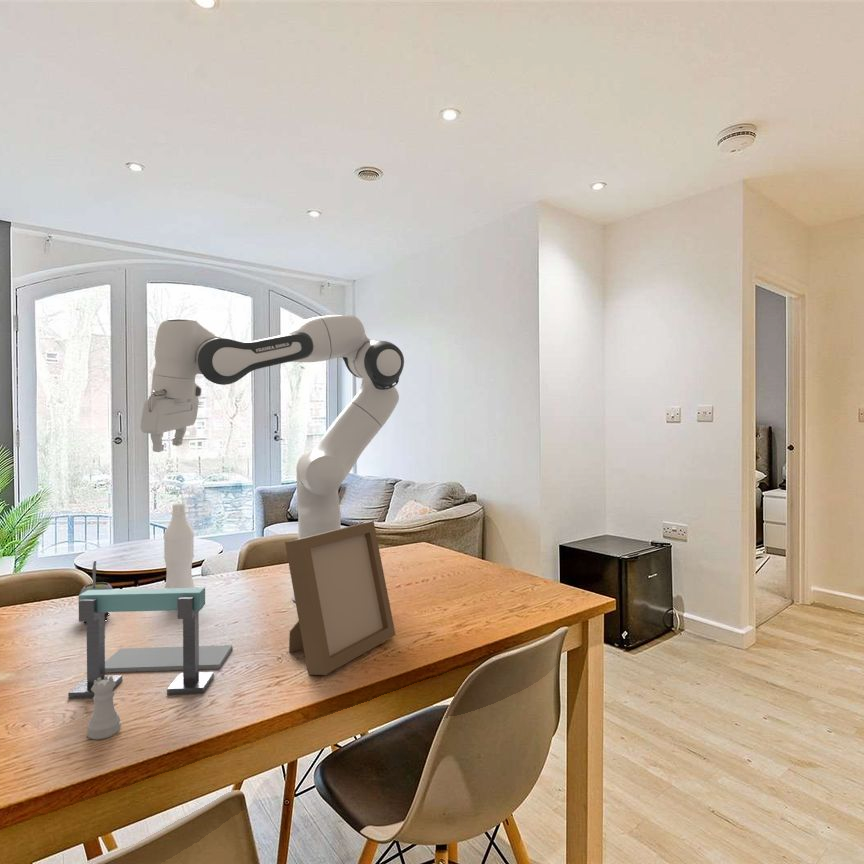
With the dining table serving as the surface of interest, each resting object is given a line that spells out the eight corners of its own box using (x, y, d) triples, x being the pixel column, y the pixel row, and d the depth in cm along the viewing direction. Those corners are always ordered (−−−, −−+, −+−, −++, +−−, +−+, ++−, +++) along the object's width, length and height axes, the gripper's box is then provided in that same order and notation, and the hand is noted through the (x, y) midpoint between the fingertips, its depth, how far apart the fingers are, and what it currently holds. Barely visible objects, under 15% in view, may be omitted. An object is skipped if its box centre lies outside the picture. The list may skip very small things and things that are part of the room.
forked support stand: (213, 677, 101) (213, 587, 101) (203, 693, 95) (202, 598, 95) (87, 681, 99) (86, 590, 99) (68, 698, 93) (67, 601, 93)
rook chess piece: (96, 725, 85) (95, 673, 85) (126, 723, 86) (126, 672, 85) (80, 741, 81) (79, 687, 81) (112, 740, 81) (111, 686, 81)
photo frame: (395, 639, 118) (394, 523, 118) (325, 680, 100) (323, 542, 100) (343, 626, 126) (341, 517, 126) (268, 662, 108) (266, 534, 107)
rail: (205, 604, 99) (205, 587, 99) (199, 609, 96) (199, 592, 96) (88, 606, 97) (87, 589, 97) (78, 612, 94) (78, 595, 94)
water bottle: (199, 596, 147) (199, 502, 147) (184, 605, 140) (184, 506, 139) (174, 595, 148) (173, 502, 147) (158, 604, 141) (157, 506, 140)
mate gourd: (99, 612, 135) (98, 551, 134) (123, 616, 132) (123, 554, 132) (69, 623, 127) (69, 558, 127) (95, 627, 125) (94, 561, 125)
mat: (232, 648, 113) (232, 645, 113) (219, 668, 104) (219, 664, 104) (120, 652, 112) (120, 648, 111) (97, 672, 103) (97, 668, 103)
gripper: (165, 393, 116) (159, 457, 117) (204, 388, 136) (199, 443, 138) (135, 388, 116) (130, 453, 117) (179, 385, 136) (174, 440, 138)
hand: (167, 448), depth 128 cm, fingers open, 8 cm apart
